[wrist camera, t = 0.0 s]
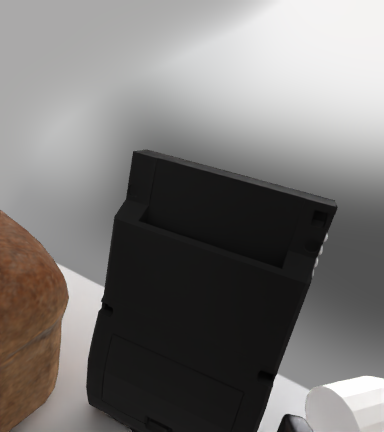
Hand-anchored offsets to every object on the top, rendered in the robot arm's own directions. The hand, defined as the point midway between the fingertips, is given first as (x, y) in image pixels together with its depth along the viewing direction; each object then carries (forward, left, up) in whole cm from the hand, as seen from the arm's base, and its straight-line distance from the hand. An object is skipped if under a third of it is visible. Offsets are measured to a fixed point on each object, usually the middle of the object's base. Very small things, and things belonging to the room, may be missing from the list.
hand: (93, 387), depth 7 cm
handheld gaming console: (+12, -3, -17) cm, 21 cm away
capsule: (+13, -15, -14) cm, 24 cm away
